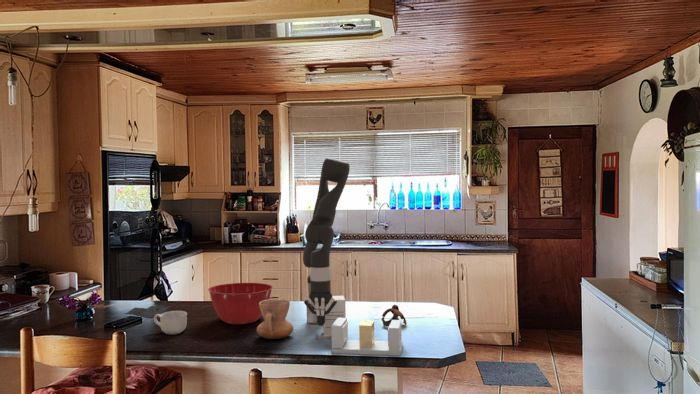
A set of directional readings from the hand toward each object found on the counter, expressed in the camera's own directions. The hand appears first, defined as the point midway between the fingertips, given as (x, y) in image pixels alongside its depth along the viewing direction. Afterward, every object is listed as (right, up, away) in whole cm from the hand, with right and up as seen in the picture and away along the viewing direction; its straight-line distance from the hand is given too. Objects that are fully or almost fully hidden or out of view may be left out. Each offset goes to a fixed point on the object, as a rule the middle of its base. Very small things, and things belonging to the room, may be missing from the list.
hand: (321, 325), depth 199 cm
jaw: (+4, -6, -2) cm, 8 cm away
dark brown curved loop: (+32, -7, +32) cm, 46 cm away
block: (+17, -6, -4) cm, 18 cm away
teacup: (-64, -9, +24) cm, 69 cm away
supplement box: (+4, -8, +17) cm, 19 cm away
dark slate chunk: (-85, -10, +55) cm, 102 cm away
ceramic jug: (-19, -9, +14) cm, 26 cm away
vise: (+17, -8, -4) cm, 19 cm away
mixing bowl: (-38, -9, +41) cm, 57 cm away
